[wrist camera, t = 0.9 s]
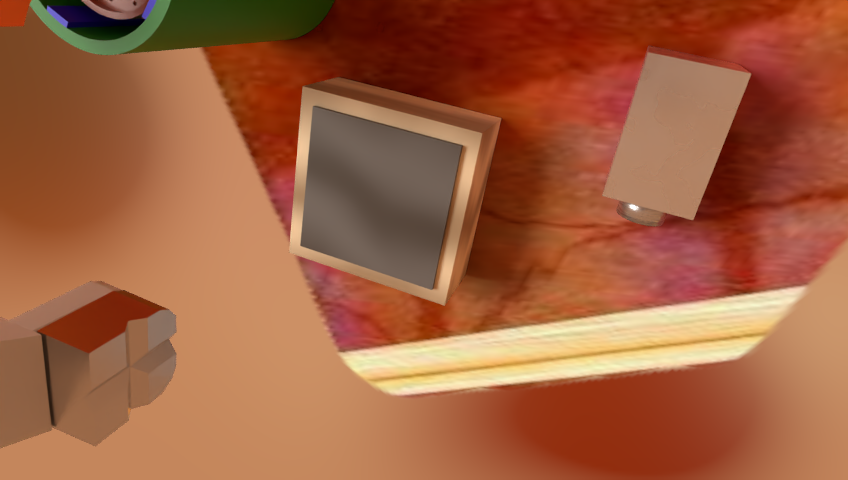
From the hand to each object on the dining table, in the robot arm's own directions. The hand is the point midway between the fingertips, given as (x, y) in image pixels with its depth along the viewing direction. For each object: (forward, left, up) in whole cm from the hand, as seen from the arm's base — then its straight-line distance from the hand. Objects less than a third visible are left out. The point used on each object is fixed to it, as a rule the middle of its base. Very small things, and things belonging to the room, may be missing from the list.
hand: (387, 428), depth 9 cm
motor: (-4, -23, -32) cm, 40 cm away
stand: (+8, -11, -32) cm, 35 cm away
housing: (0, +5, -32) cm, 32 cm away
